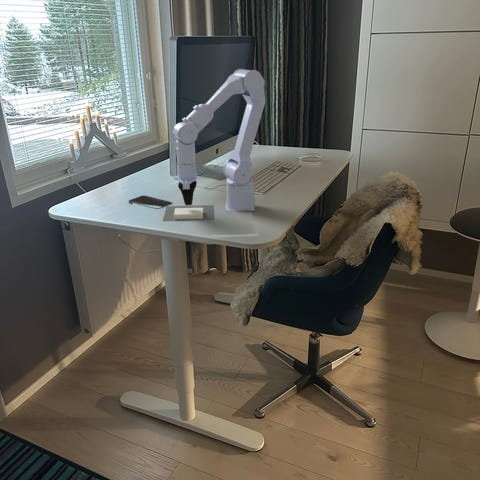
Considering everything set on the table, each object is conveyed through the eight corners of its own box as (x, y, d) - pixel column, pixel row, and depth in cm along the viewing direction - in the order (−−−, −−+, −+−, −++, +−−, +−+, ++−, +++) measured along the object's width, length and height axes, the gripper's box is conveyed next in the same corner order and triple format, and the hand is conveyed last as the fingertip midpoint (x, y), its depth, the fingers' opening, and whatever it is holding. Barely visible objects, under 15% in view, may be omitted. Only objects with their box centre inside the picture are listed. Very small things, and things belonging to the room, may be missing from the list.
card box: (203, 207, 148) (202, 213, 142) (203, 212, 149) (202, 218, 143) (175, 208, 147) (173, 214, 142) (175, 212, 148) (174, 219, 143)
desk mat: (213, 206, 155) (213, 205, 155) (214, 221, 142) (214, 219, 142) (166, 207, 154) (166, 206, 154) (162, 222, 142) (162, 221, 141)
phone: (157, 209, 151) (127, 200, 159) (158, 212, 152) (127, 203, 160) (174, 202, 157) (143, 194, 165) (174, 205, 158) (144, 197, 166)
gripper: (175, 157, 147) (177, 197, 152) (171, 168, 133) (174, 212, 139) (196, 157, 147) (198, 197, 152) (195, 168, 134) (197, 211, 139)
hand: (188, 204), depth 146 cm, fingers closed
